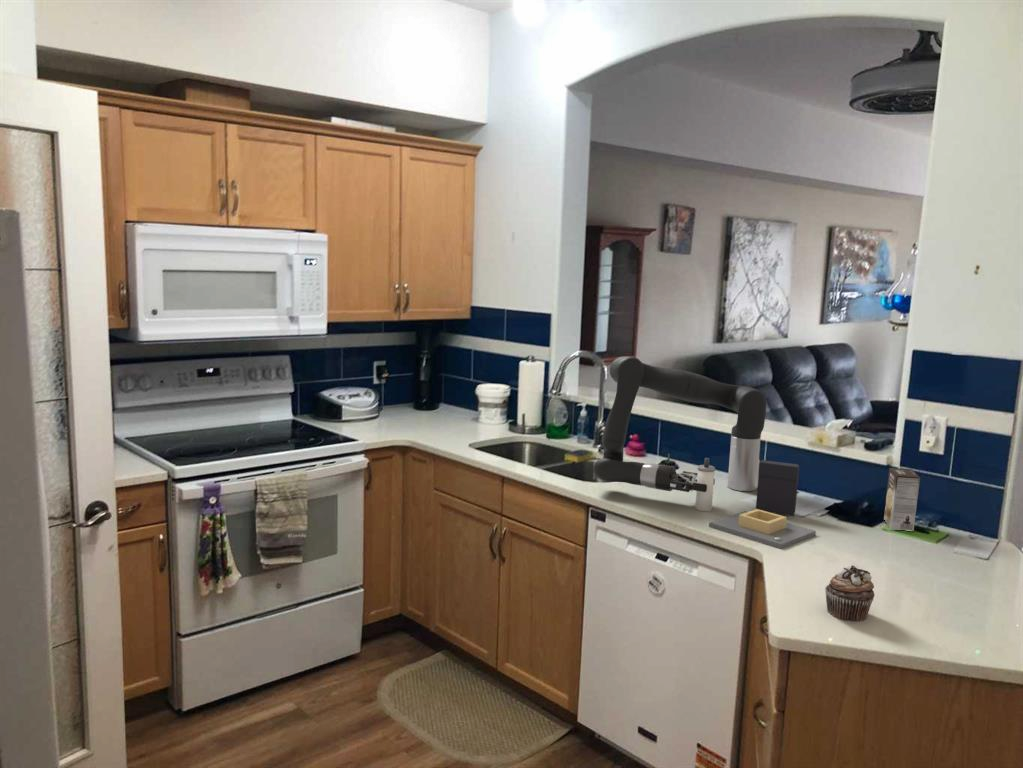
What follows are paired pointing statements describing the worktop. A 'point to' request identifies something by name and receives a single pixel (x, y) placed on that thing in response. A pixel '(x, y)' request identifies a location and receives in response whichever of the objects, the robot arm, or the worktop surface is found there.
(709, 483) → the white cylindrical bottle
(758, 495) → the dark grey upright panel
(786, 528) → the socket dock
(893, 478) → the coffee box
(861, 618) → the cupcake
